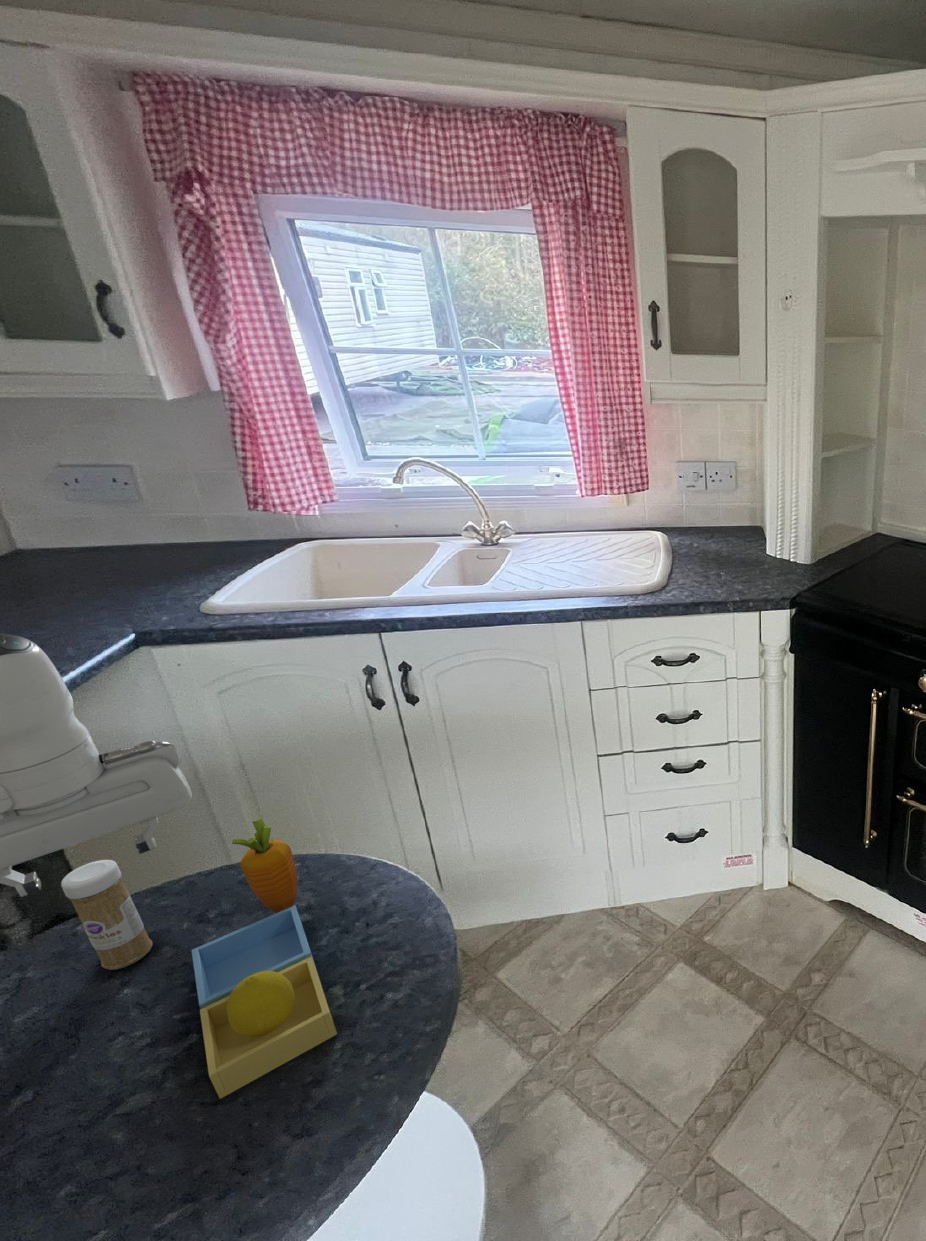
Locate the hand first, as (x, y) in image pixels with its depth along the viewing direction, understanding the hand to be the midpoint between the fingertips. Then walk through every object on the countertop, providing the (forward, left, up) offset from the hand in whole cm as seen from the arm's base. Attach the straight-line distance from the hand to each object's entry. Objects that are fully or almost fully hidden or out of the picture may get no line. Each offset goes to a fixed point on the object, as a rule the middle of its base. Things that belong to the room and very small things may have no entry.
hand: (92, 869), depth 81 cm
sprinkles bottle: (0, 0, -14) cm, 14 cm away
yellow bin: (+11, -24, -14) cm, 30 cm away
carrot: (+14, -5, -14) cm, 21 cm away
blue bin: (+11, -14, -14) cm, 22 cm away
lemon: (+11, -24, -13) cm, 30 cm away
